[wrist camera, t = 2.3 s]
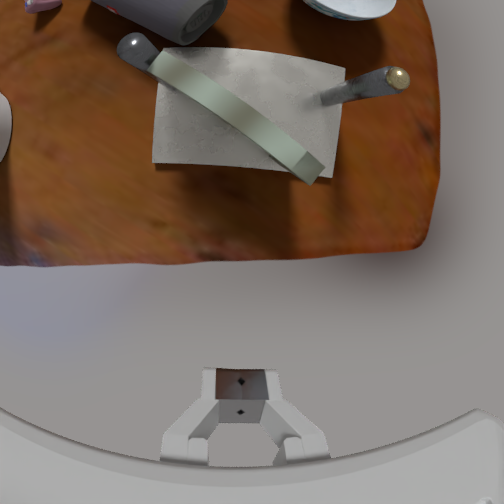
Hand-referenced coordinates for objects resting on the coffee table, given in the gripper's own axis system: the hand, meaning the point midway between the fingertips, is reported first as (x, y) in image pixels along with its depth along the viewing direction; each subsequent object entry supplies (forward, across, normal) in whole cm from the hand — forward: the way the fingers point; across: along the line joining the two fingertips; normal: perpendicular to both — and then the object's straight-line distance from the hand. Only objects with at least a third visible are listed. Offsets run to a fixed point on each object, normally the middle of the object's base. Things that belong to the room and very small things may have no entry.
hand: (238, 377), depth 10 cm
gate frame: (+29, +1, +13) cm, 32 cm away
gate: (+27, -1, +11) cm, 29 cm away
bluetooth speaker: (+29, -15, +30) cm, 45 cm away
